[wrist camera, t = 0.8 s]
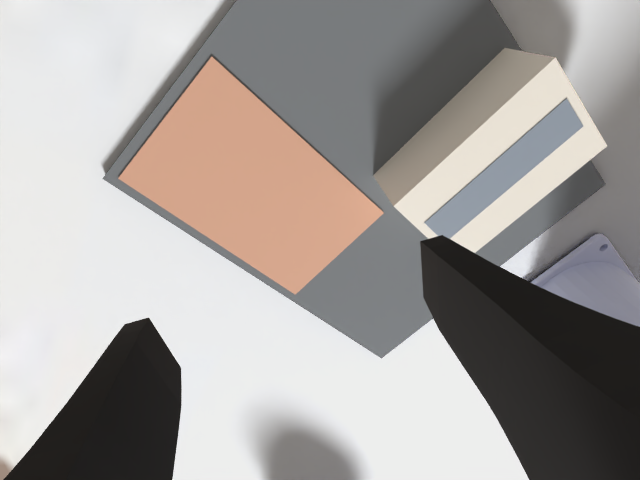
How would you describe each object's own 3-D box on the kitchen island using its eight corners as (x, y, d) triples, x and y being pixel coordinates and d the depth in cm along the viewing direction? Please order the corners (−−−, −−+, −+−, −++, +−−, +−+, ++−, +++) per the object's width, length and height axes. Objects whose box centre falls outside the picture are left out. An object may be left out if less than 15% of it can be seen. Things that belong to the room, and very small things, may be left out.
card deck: (554, 124, 20) (608, 146, 17) (430, 230, 22) (458, 267, 19) (504, 47, 17) (556, 57, 14) (373, 175, 20) (393, 206, 17)
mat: (600, 181, 22) (606, 184, 22) (379, 353, 27) (382, 359, 27) (371, -179, 13) (375, -186, 13) (105, 175, 18) (101, 179, 18)
